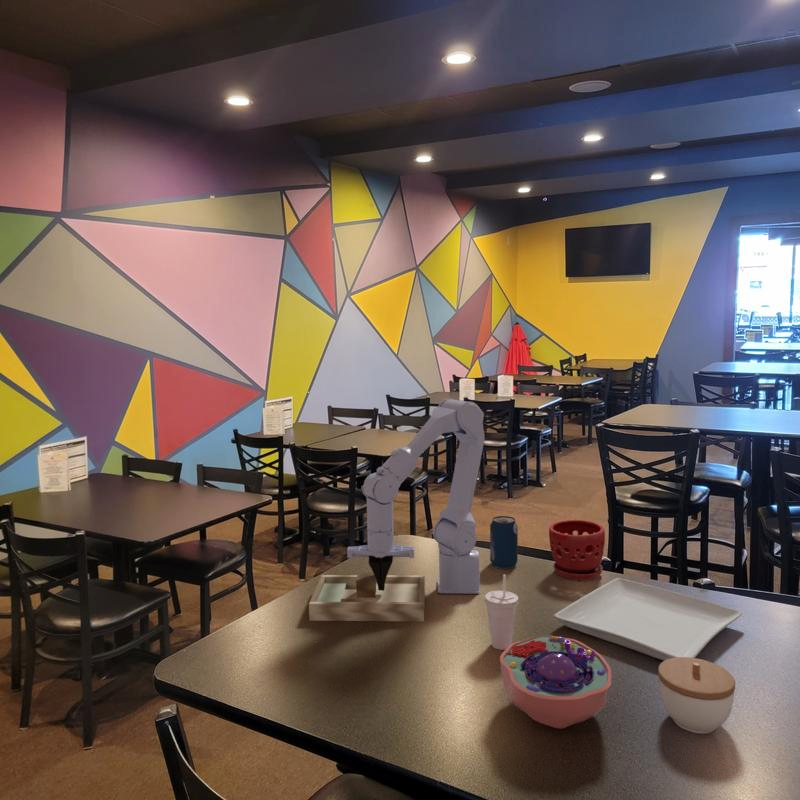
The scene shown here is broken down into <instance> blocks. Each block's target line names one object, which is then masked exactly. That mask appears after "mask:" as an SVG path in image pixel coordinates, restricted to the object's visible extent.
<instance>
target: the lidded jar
mask: <svg viewBox="0 0 800 800" xmlns="http://www.w3.org/2000/svg"><path fill="white" fill-rule="evenodd" d="M657 674H658V692H659V697H660V700H661V703H662V706H663V708H664V710H665V712H666V713H667V714H668V715H669V716H670V717H671V719H672V720H673V722H674V723H675V724H676V725H677V726H678V727H679V728H681V729H682V730H683V731H684V730H685V731H687V732H690V733H693V734H699V735H700V734H701V735H704V734H705V735H707V734H710V733H713V732H714V731H716V729H718V728H719V727H721V726H722V725H723V724H724V723H726V721H727V720H728V718H729V717H730V715H731V712H732V711H733V704H734V699H735V689H736V680H735V678H734V676H733V675H732V674H731V673H730V671H728V670H726V669H725V667H723V666H720V665H718V664H716V663H714V662H710V661H708V660H705V659H701V658H696V657H695V658H689V657H676V658H670V659H667V660H665V661H663V660H662V662H660V664H659V665H658V670H657Z"/></svg>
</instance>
